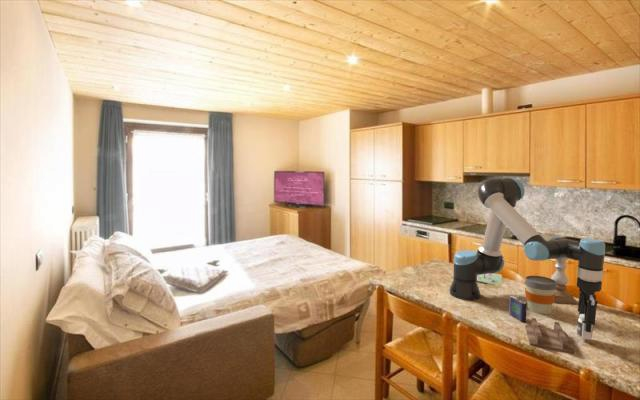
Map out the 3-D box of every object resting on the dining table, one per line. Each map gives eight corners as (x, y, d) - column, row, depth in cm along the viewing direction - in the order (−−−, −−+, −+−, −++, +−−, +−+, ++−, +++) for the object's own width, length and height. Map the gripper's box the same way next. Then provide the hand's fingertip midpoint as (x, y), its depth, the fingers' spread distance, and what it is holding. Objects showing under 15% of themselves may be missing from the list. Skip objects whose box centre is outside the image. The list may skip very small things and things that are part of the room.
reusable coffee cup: (545, 318, 147) (547, 286, 146) (517, 307, 158) (519, 278, 157) (560, 312, 153) (562, 281, 152) (532, 302, 164) (534, 273, 163)
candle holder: (576, 304, 161) (579, 257, 159) (551, 302, 164) (554, 256, 161) (564, 295, 172) (567, 251, 170) (541, 294, 174) (544, 251, 172)
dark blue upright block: (507, 313, 152) (508, 292, 151) (513, 313, 152) (514, 291, 151) (522, 323, 143) (523, 300, 142) (528, 322, 143) (529, 299, 142)
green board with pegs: (478, 270, 217) (478, 257, 216) (512, 277, 202) (512, 263, 201) (460, 279, 201) (461, 265, 200) (496, 288, 185) (497, 273, 184)
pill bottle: (576, 331, 132) (577, 312, 131) (591, 335, 129) (593, 315, 128) (577, 336, 128) (578, 316, 127) (592, 340, 125) (594, 320, 124)
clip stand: (575, 353, 119) (575, 342, 119) (530, 345, 125) (530, 334, 125) (564, 333, 133) (565, 323, 133) (525, 326, 140) (525, 316, 139)
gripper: (610, 288, 116) (604, 349, 119) (594, 273, 132) (589, 327, 135) (583, 285, 119) (578, 344, 122) (571, 270, 135) (567, 323, 138)
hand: (584, 335), depth 128 cm, fingers closed on pill bottle, 5 cm apart
